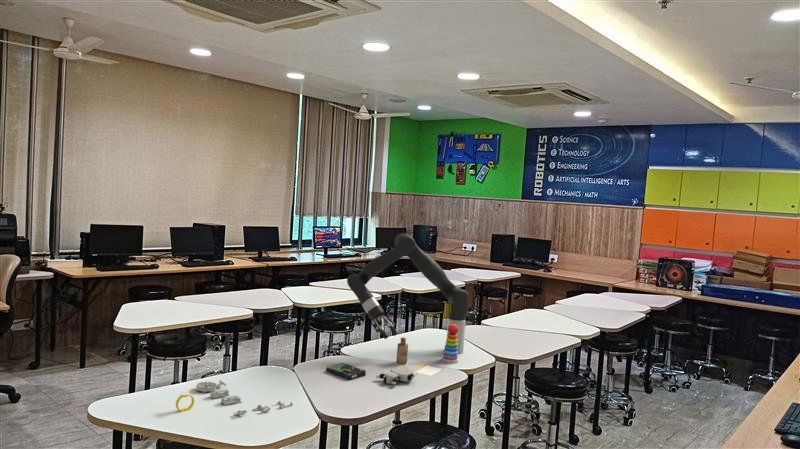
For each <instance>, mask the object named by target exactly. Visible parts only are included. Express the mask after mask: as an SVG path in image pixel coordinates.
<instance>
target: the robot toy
mask: <svg viewBox="0 0 800 449" xmlns="http://www.w3.org/2000/svg"><path fill="white" fill-rule="evenodd" d="M418 374H419V373H417V372H416V374H415V372H414V371H412V369H409V368H407V367H403V366H399V365H397V366H395V367H393V368H391V369H390V371H389V372H387V373H380V374H377V375H376V378H377V379H381V380H382V379H383V382H384V383H385V384H389V385H397V384H398V383H399V382H400V381H401V382H405V383H408V382H410V380H411V381H412V380H413V379H414V378H415V377H416V376H418Z"/></svg>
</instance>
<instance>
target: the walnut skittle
mask: <svg viewBox="0 0 800 449" xmlns="http://www.w3.org/2000/svg"><path fill="white" fill-rule="evenodd" d="M406 341H407V338H406V337H400V342H399V343H397V350H396V359H395V360H396V363H397V364H400V365H399V366H401V365H405V364H407V362H408V355H409V354H408V352H409V344H408V343H407V342H406ZM405 366H406V365H405Z"/></svg>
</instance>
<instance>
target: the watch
mask: <svg viewBox="0 0 800 449" xmlns="http://www.w3.org/2000/svg"><path fill="white" fill-rule="evenodd" d="M187 397H190V398H191V402H190V405H189V406H188V407H187V408H186V407H185V408H182V409H180V407H179V403H180V401H181V399H183V398H187ZM194 405H195V397H194V396H193V395H192V394H190V392H188V391H187V392H185V391H184V392H181V394H180V396H179V397H177V399H176V400H175V408H176V409H177V410H178V411H180V412H186V411H189V410H190V411H191V409H192V408H193V407H194Z"/></svg>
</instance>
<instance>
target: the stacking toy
mask: <svg viewBox="0 0 800 449" xmlns="http://www.w3.org/2000/svg"><path fill="white" fill-rule="evenodd" d="M447 327H448V326H447ZM448 331H449V333H448V334H447V333H446V339H445V345H444V350H443V353H442V357H441V361H442V362H444V363H448V364H457V363H458V362H459V359H458V358H459V355H458V354H459V353H458V351H457V350H458V347H457V345H458V343H457V339H456V338H457V337H458V336H457V334H456V333H457V332H458V326H457V325H455V324H451V325H449V327H448Z"/></svg>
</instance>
